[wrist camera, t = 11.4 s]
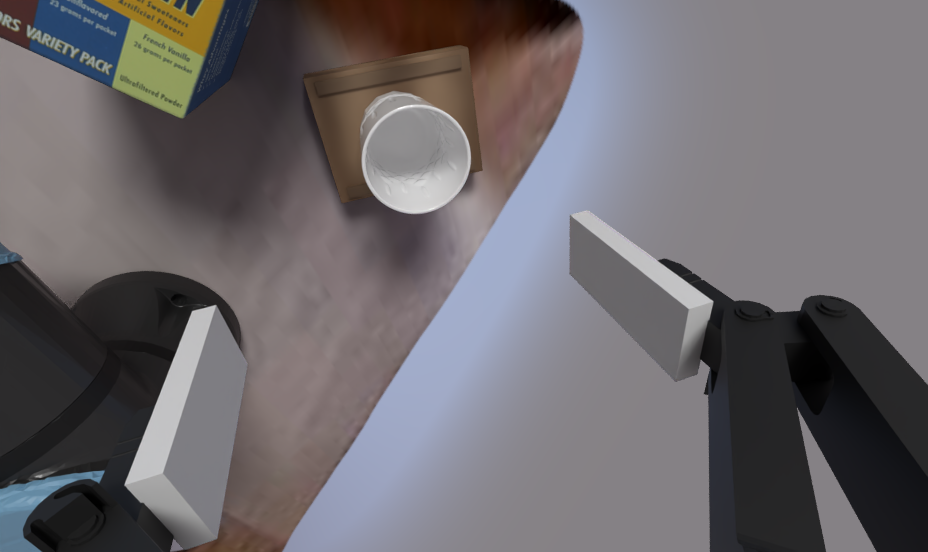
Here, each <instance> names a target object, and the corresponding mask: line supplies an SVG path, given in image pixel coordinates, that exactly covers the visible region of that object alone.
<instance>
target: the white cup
mask: <svg viewBox="0 0 928 552" xmlns="http://www.w3.org/2000/svg"><path fill="white" fill-rule="evenodd" d="M360 153H361V162H362V170H363V175H364V178H365V181H366V183H367V185H368V187H369V189H370V190H371V192H372V193H373V194H374V196H375V197H376V198H377V199H378V200H379V201H380V202H382V203H383V204H384V205H386V206H387V207H389V208H391V209H393V210H396V211H398V212H402V213H407V214H423V213H428V212H432V211H435V210H437V209H439V208H441V207H443V206H445V205H446V204H448V203H449V202H450V201H451V200H452V199H454V198H455V197H456V195H457V194H458V193H459V192H460V190H461V189H462V187H463V186H464V184H465V182H466V180H467V177H468V174H469V170H470V165H471V152H470V146H469V142H468V139H467V137H466V134H465V133H464V131H463V129H462V128H461V126H460V125H459V124H458V122H457V121H456V120H455V119H454V118H452V117H451V116H450V115H449V114H447V113H446V112H444V111H442V110H441V109H439V108H438V107H436V106H434V105H433V104H431V103H430V102H428V101H426V100H424V99H422V98H420V97H417V96H414V95H413V94H411V93H405V92H398V91H392V92H389V93H386V94H383V95H380V96H378V97H376V98H375V99H374V100H373V102H372V103H371V104H370V105H369V106H368V107H367V108H366V109H365V111H364V114H363V118H362V121H361V125H360Z"/></svg>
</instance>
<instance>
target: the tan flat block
mask: <svg viewBox="0 0 928 552" xmlns="http://www.w3.org/2000/svg"><path fill="white" fill-rule="evenodd" d="M303 80H304V84H305V87H306V90H307V93H308V96H309V100H310V103H311V106H312V109H313V113H314V116H315V119H316V122H317V125H318V129H319V132H320V135H321V138H322V141H323V145H324V148H325V151H326V154H327V157H328V161H329V164H330V167H331V170H332V173H333V177H334V180H335V183H336V186H337V189H338V193H339V196H340V199H341V202H342V203H345V202H350V201H354V200H358V199H363V198H367V197H371V196H374V194H373V193H372V192H371V190H370V189H369V187H368V185H367V183H366V181H365V178H364V175H363V170H362V162H361V153H360V125H361V121H362V118H363V114H364V111H365V109H366V108H367V107H368V106H369V105H370V104H371V103H372V102H373V100H374V99H375V98H376V97H378V96H380V95H383V94H386V93H389V92H392V91H398V92H405V93H411V94H413V95H414V96H417V97H420V98H422V99H424V100H426V101H428V102H430V103H431V104H433V105H434V106H436V107H438V108H439V109H441V110H442V111H444V112H446V113H447V114H449V115H450V116H451V117H452V118H454V119H455V120H456V121H457V122H458V124H459V125H460V126H461V128H462V129H463V131H464V133H465V134H466V137H467V139H468V142H469V146H470V152H471V165H470V170H469V174H470V173H474V172H478V171H483V170H482V161H481V153H480V144H479V136H478V128H477V119H476V111H475V102H474V94H473V86H472V77H471V69H470V60H469V52H468V48H467V47H464V46H460V45H457V46H452V47H446V48H441V49H435V50H430V51H425V52H419V53H414V54H409V55H403V56H398V57H393V58H387V59H382V60H377V61H371V62H366V63H361V64H355V65H350V66H345V67H339V68H334V69H329V70H323V71H318V72H313V73H307V74H304V77H303Z"/></svg>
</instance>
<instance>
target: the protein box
mask: <svg viewBox="0 0 928 552" xmlns="http://www.w3.org/2000/svg"><path fill="white" fill-rule="evenodd" d="M258 2H259V0H0V37H1V38H3V39H6V40H8V41H10V42H12V43H14V44H17V45H19V46H21V47H23V48H25V49H28V50H30V51H32V52H34V53H37V54H39V55H41V56H43V57H45V58H48V59H50V60H52V61H54V62H57V63H59V64H61V65H63V66H65V67H68V68H70V69H72V70H74V71H76V72H78V73H81V74H83V75H85V76H87V77H90V78H92V79H94V80H96V81H98V82H101V83H103V84H105V85H107V86H109V87H111V88H114V89H116V90H118V91H120V92H122V93H124V94H127V95H129V96H131V97H133V98H135V99H138V100H140V101H142V102H144V103H146V104H149V105H151V106H153V107H155V108H157V109H160V110H162V111H164V112H167V113H169V114H171V115H174V116H176V117H179V118H184V117H185V116H187V115H188V114H189V113H190V112H192V111H193V110H194V109H195V108H196V107H198V106H199V105H200V104H201V103H202V102H203V101H205V100H206V99H207V98H208V97H210V96H211V95H212V94H213V93H214V92H216V91H217V90H218V89H219V88H220V87H222V86H223V85H224V84H225V83H226V82H228V81H229V80H230V78H231V75H232V72H233V70H234V67H235V64H236V61H237V59H238V56H239V53H240V51H241V48H242V45H243V42H244V40H245V37H246V34H247V31H248V29H249V26H250V23H251V21H252V18H253V15H254V12H255V10H256V7H257V5H258Z"/></svg>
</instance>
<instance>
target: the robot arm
mask: <svg viewBox="0 0 928 552" xmlns="http://www.w3.org/2000/svg"><path fill="white" fill-rule="evenodd" d="M22 259H23V258H22V257H21V256H20V255H19V254H17V253H14V252H11V251H9V250H8V249H7V248H6V247H5V246H3V245H2V244H1V243H0V552H170V549H171V545H172V541H173V538H174V539H175V540H176V542H177V543H179V545H180V546H181V547H182V548H183V549H184V550H186V549H189V548H192V547H195V546H198V545H201V544H204V543H207V542H210V541H213V540H216V539H217V537H218V531H219V526H220V520H221V514H222V509H223V503H224V497H225V491H226V486H227V480H228V474H229V469H230V463H231V457H232V452H233V446H234V440H235V435H236V429H237V423H238V417H239V412H240V406H241V400H242V395H243V389H244V383H245V378H246V372H247V366H248V364H247V362H246V360H245V358H244V356H243V354H242V352H241V350H240V349H239V343H240V328H239V324H238V321H237V318H236V316H235V314H234V312H233V311H232V309H231V308H230V306H229V305H228V304H227V303H226V302H225V301H224V300H223V299H222V298H221V297H220V296H219V295H218V294H216V293H215V292H214V291H212V290H211V289H209V288H208V287H206V286H204V285H202V284H200V283H198V282H196V281H194V280H191V279H189V278H186V277H182V276H179V275H175V274H170V273H164V272H154V271H140V272H130V273H124V274H120V275H116V276H113V277H110V278H107V279H105V280H103V281H101V282H99V283H97V284H95V285H94V286H92V287H91V288H90V289H88V290H87V291H86V292H85V293H84V294H83V295H82V296H81V297H80V298H79V300H78V301H77V302H76V303H75V304H74V306H73V307H72V308H71V310H70V309H69V308H68V307H67V306H66V305H65V304H64V303H63V302H62V301H61V300H60V299H59V298H58V297H57V296H56V295H55V294H54V293H53V292H52V291H51V290H50V289H49V288H48V287H47V286H46V285H45V284H44V283H43V282H42V281H41V280H40V279H39V278H38V277H37V276H36V275H35V274H34V273H33V272H32V271H31V270H30V269H29V268H28V267H27V266H26V265H25V264H24V263H23V262H22V261H21V260H22ZM570 275H571V276H572V277H573V278H574V279H575V280H576V281H577V282H578V283H579V284H580V285H581V286H582V287H583V288H584V289H585V290H586V291H587V292H588V293H589V294H590V295H591V296H592V297H593V298H594V299H595V300H596V301H597V302H598V303H599V304H600V305H601V306H602V307H603V309H605V311H606V312H607V313H608V314H610V316H611V317H612V318H613V319H614V320H615V321H616V322H617V323H618V324H619V325H620V326H621V327H622V328H623V329H624V330H625V331H626V332H627V333H628V334H629V335H630V336H631V337H632V338H633V339H634V340H635V341H636V342H637V343H638V344H639V345H640V346H641V347H642V348H643V349H644V350H645V351H646V352H647V353H648V354H649V355H650V356H651V358H652V359H653V360H655V361H656V363H657V364H658V365H659V366H660V367H661V368H662V369H663V370H664V371H665V372H666V373H667V374H668V375H669V376H670V377H671V378H672V379H673V380H674V381H675V382H677V381H680V380H682V379H685V378H688V377H691V376H694V375H697V374H698V369H699V365H700V360H702V361H703V362H704V363H706V364H707V365H708V366H709V367H710V371H709V375H708V379H707V383H706V388H705V392H704V394H706V395H708V400H709V401H708V403H709V502H710V552H826V549H825V544H824V539H823V534H822V529H821V525H820V520H819V515H818V510H817V505H816V500H815V495H814V490H813V485H812V480H811V475H810V470H809V466H808V460H807V456H806V451H805V446H804V441H803V436H802V431H801V426H800V421H799V416H798V411H797V408H798V410H799V411H800V413H801V415H802V417H803V418H804V420H805V422H806V424H807V426H808V428H809V430H810V431H811V433H812V435H813V437H814V439H815V441H816V442H817V444H818V446H819V448H820V449H821V451H822V453H823V455H824V457H825V459H826V460H827V462H828V464H829V466H830V468H831V470H832V471H833V473H834V475H835V477H836V479H837V480H838V482H839V484H840V486H841V488H842V490H843V491H844V493H845V495H846V497H847V498H848V500H849V502H850V504H851V506H852V508H853V509H854V511H855V513H856V515H857V517H858V519H859V520H860V522H861V524H862V526H863V528H864V529H865V531H866V533H867V535H868V537H869V538H870V540H871V542H872V544H873V546H874V548H875V550H876V551H877V552H928V385H927V384H926V383H925V382H924V380H923V379H922V378H921V377H920V376H919V375H918V374H917V373H916V371H915V370H914V369H913V368H912V367H911V366H910V365H909V364H908V363H907V361H906V360H905V359H904V358H903V357H902V356H901V355H900V354H899V353H898V351H897V350H896V349H895V348H894V347H893V346H892V345H891V344H890V342H889V341H888V340H887V339H886V338H885V337H884V336H883V335H882V334H881V332H880V331H879V330H878V329H877V328H876V327H875V326H874V325H873V323H872V322H871V321H870V320H869V319H868V318H867V317H866V316H865V315H864V314H863V312H862V311H861V310H860V309H859V308H857V307H856V306H855V305H854V304H852V303H850V302H848V301H846V300H844V299H841V298H838V297H833V296H825V295H817V296H811V297H809V298H806V299H805V300H804V302H803V304H802V307H801V310H800V311H793V312H774V311H773V310H772V309H770V308H769V307H767V306H765V305H762V304H760V303H756V302H752V301H733V300H732V299H730V298H729V297H728V296H726V295H725V294H723V293H722V292H720V291H719V290H717V289H716V288H714V287H713V286H711V285H710V284H708V283H707V282H706V281H704V280H701V278H700V277H699V276H697V275H696V274H692V272H691V271H690V270H688V269H687V268H685V267H684V266H682V265H681V264H679V263H676V262H673V261H670V260H668V259H662V260H658V261H657V260H655V259H654V258H653V257H651V256H650V255H649V254H647V253H646V252H644V251H643V250H642V249H640V248H639V247H638V246H636V245H635V244H633V243H632V242H631V241H629V240H628V239H627V238H625V237H623V236H622V235H621V234H619V233H618V232H617V231H615V230H614V229H613V228H611V227H610V226H609V225H607V224H606V223H604V222H603V221H602V220H600V219H599V218H598V217H596V216H595V215H593V214H592V213H591V212H589V211H588V210H587V211H583V212H579V213H575V214H571V215H570Z"/></svg>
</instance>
